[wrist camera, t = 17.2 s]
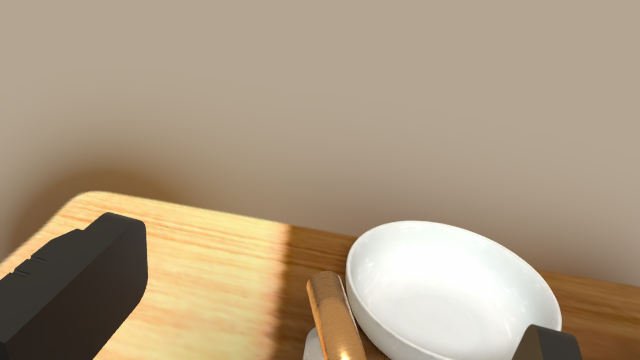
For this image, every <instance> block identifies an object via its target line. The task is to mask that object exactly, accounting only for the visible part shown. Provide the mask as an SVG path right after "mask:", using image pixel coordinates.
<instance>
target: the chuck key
mask: <svg viewBox="0 0 640 360" xmlns="http://www.w3.org/2000/svg"><path fill="white" fill-rule="evenodd" d="M307 291H308V295H309V299H310V303H311V307H312V312H313V316H314V320H315V324H316V327H315V328H313V329H312V330H311V331H310V332H309V334H308V336H307V339H306V344H305V350H304V356H303V360H367V358H366V355H365V352H364V348H363V345H362V342H361V339H360V336H359V333H358V330H357V327H356V324H355V321H354V318H353V315H352V312H351V309H350V306H349V303H348V300H347V297H346V294H345V291H344V288H343V285H342V282H341V279H340V277H339V275H338V274H336V273H334V272H332V271H322V272H319V273H316V274H315V275H313V276H312V277H311V278H310V279H309V281H308V283H307Z"/></svg>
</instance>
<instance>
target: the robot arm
mask: <svg viewBox="0 0 640 360" xmlns="http://www.w3.org/2000/svg"><path fill="white" fill-rule="evenodd" d="M147 281H148V266H147V243H146V227H145V224H144V223H143V222H142V221H140V220H137V219H133V218H129V217H125V216H122V215H118V214H114V213H110V212H107V213H104V214H103V215H101V216H100V217H99V218H97V219H96V220H95V221H94V222H93V223H91V224H90V225H89V226H88V227H87V228H85V229H84V230H80V229H75V230H73V231H70V232H68V233H66V234H64V235H61V236H59V237H57V238H54V239H52V240H50V241H49V242H48V243H46V244H45V245H44V246H43V247H41V248H40V249H39V250H38V251H36V252H35V253H34V254H33V255H31V258H30V259H26V260H25V261H24V262H23V263H21V264H20V265H19V266H18V267H16V268H15V269H14V272H13V273H9V274H7V275H6V276H5V277H4V278H2V279H1V280H0V360H93V358H94V357H95V356H96V355H97V353H98V352H99V351H100V350H101V349H102V347H103V346H104V345H105V344H106V343H107V341H108V340H109V339H110V338H111V336H112V335H113V334H114V333H115V332H116V330H117V329H118V328H119V327H120V326H121V324H122V323H123V322H124V321H125V319H126V318H127V317H128V316H129V315H130V313H131V312H132V311H133V310H134V309H135V307H136V306H137V305H138V303H139V302H140V300H141V298H142V297H143V294H144V292H145V289H146V286H147ZM512 360H582V356H581V353H580V350H579V346H578V343H577V340H576V338H575V337H574V336H573V335H572V334H568V333H564V332H560V331H557V330H553V329H549V328H546V327H542V326H538V325H534V324H531V325H529V326H528V327H527V329H526V330H525V332H524V334H523V337H522V339H521V341H520V343H519V345H518V347H517V349H516V351H515V353H514V355H513V358H512Z"/></svg>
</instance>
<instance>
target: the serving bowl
mask: <svg viewBox="0 0 640 360" xmlns="http://www.w3.org/2000/svg"><path fill="white" fill-rule="evenodd" d="M346 290H347V295H348V300H349V303H350V306H351V309H352V312H353V314H354V316H355V318H356V320H357V322H358V324H359V325H360V327H361V328H362V330H363V331H364V333H365V334H366V335H367V337H368V338H369V339H370V340H371V341H372V342H373V344H374V345H375V346H376V347H377V348H378V349H379V350H381V351H382V352H383V353H384V354H385V355H386V356H388V357H389V358H390V359H391V360H512V358H513V355H514V353H515V351H516V349H517V347H518V345H519V343H520V341H521V339H522V337H523V334H524V332H525V330H526V329H527V327H528V326H529V325H531V324H534V325H538V326H542V327H546V328H549V329H553V330H557V331H560V332H561V325H562V319H561V312H560V308H559V305H558V302H557V300H556V298H555V296H554V294H553V292H552V291H551V289H550V287H549V286H548V284H547V283H546V282H545V281H544V279H543V278H542V277H541V276H540V275H539V274H538V273H537V272H536V271H535V270H534V269H533V268H532V267H531V266H530V265H529V264H528V263H527V262H525V261H524V260H523V259H521V258H520V257H519V256H517V255H516V254H514V253H513V252H512V251H509V250H508V249H507V248H505V247H503V246H501V245H500V244H498V243H496V242H494V241H492V240H490V239H488V238H486V237H483V236H481V235H479V234H476V233H473V232H470V231H468V230H465V229H461V228H458V227H454V226H450V225H446V224H441V223H434V222H427V221H400V222H393V223H388V224H384V225H381V226H378V227H375V228H373V229H371V230H369V231H367V232H366V233H364V234H363V235H362V236H360V237H359V238H358V239H357V240H356V241H355V243H354V244H353V245H352V247H351V249H350V251H349V254H348V257H347V262H346Z"/></svg>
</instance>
